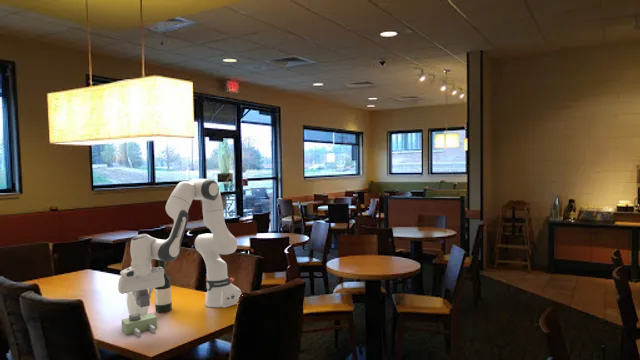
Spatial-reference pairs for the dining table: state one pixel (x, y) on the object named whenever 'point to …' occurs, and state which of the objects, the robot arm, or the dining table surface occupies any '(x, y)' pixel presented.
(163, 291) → the wine bottle
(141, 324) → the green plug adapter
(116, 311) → the dining table surface
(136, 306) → the jar
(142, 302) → the upright grey box
